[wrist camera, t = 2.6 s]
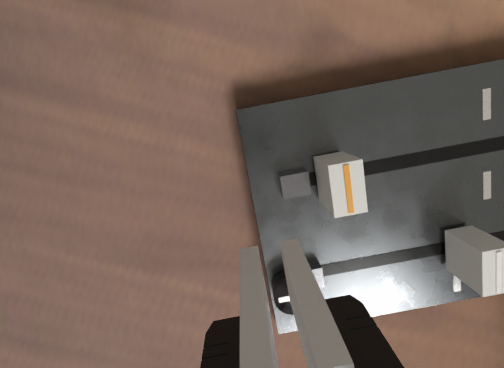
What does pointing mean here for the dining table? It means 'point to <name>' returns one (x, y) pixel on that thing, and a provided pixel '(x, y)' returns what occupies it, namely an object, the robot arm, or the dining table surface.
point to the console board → (380, 184)
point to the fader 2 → (476, 259)
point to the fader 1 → (341, 183)
